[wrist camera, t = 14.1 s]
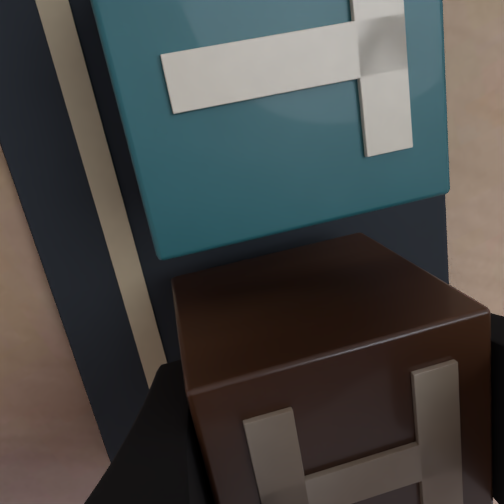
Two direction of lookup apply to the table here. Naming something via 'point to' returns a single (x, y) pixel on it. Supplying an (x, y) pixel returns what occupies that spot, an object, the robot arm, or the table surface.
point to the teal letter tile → (275, 111)
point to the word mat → (124, 210)
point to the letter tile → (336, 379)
